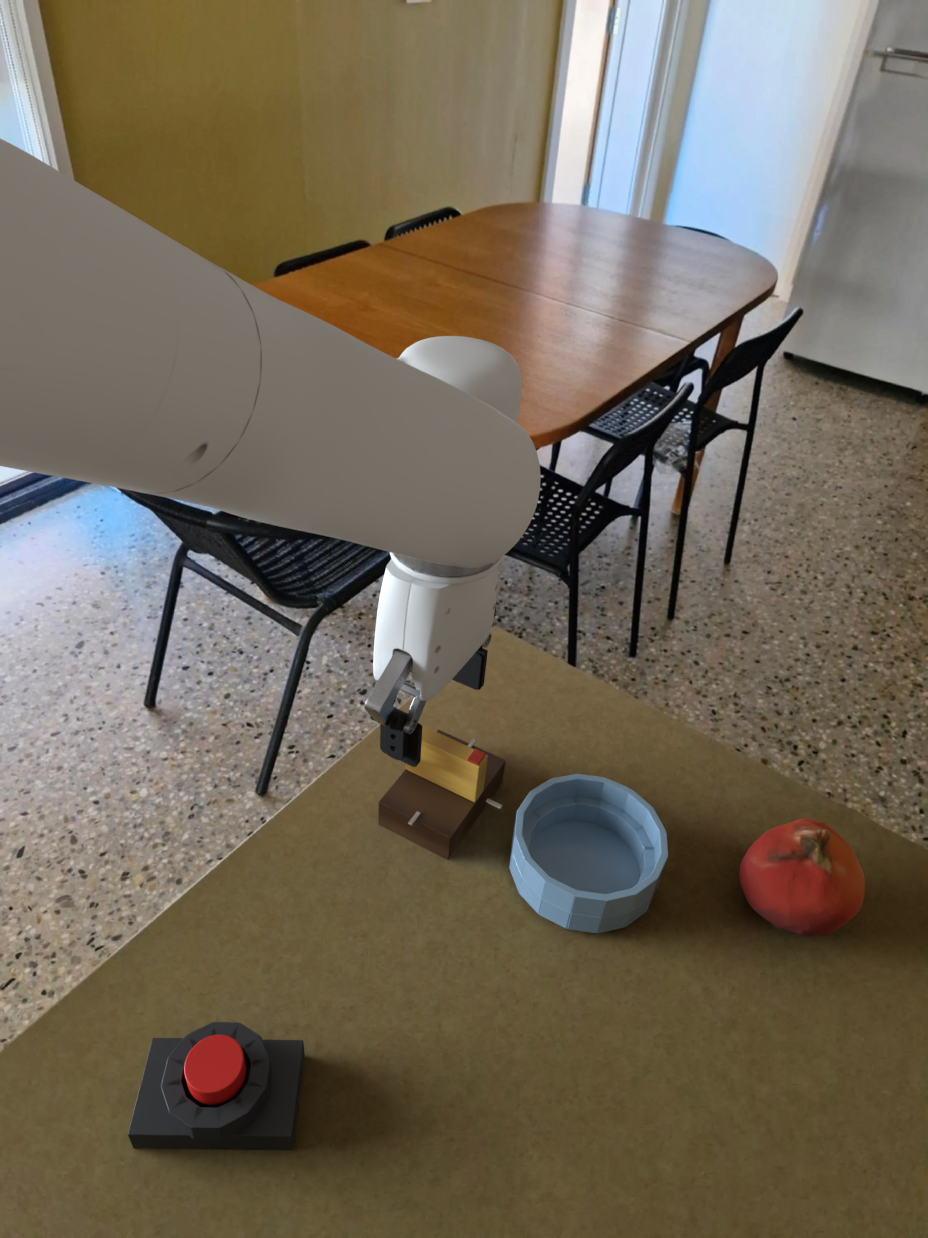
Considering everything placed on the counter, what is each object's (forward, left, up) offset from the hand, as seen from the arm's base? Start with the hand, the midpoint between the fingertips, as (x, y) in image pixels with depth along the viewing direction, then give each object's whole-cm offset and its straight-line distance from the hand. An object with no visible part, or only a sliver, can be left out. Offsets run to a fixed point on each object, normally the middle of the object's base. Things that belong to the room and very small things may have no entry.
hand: (434, 717), depth 69 cm
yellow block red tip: (+3, 0, -10) cm, 10 cm away
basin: (+3, -14, -13) cm, 19 cm away
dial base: (+3, 0, -13) cm, 13 cm away
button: (-26, 0, -9) cm, 28 cm away
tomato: (+9, -30, -13) cm, 33 cm away
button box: (-26, 0, -13) cm, 30 cm away
